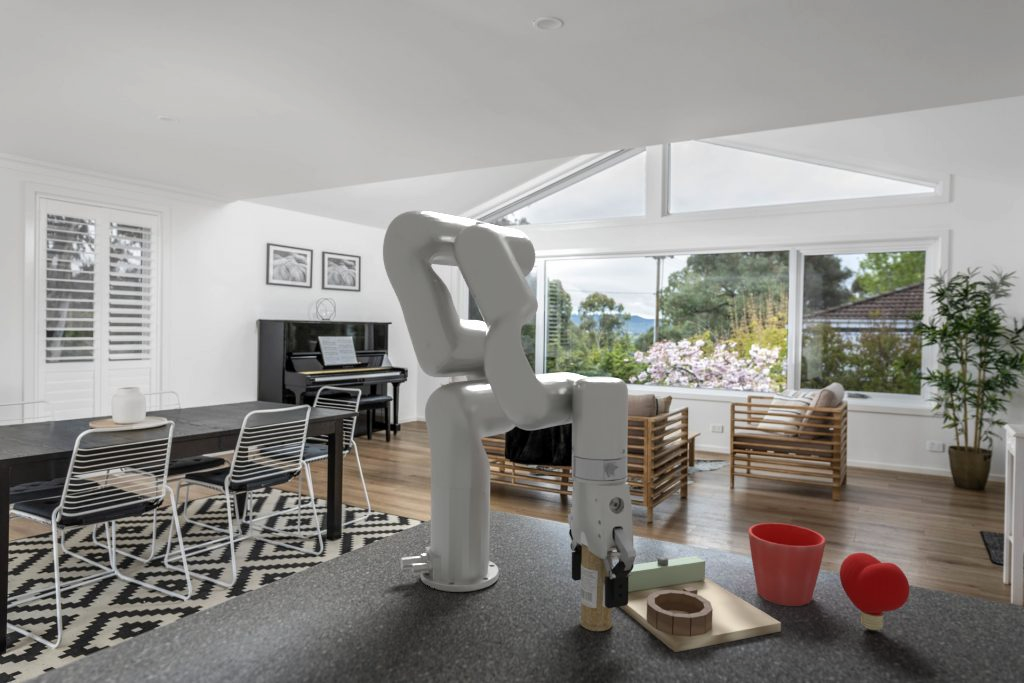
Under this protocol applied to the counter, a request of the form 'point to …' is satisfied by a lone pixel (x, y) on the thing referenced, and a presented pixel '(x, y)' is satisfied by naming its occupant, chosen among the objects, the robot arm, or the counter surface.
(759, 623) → the board
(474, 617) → the counter surface
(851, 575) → the red heart figurine
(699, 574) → the bar
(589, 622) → the sprinkles bottle
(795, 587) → the flower pot
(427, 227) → the robot arm
